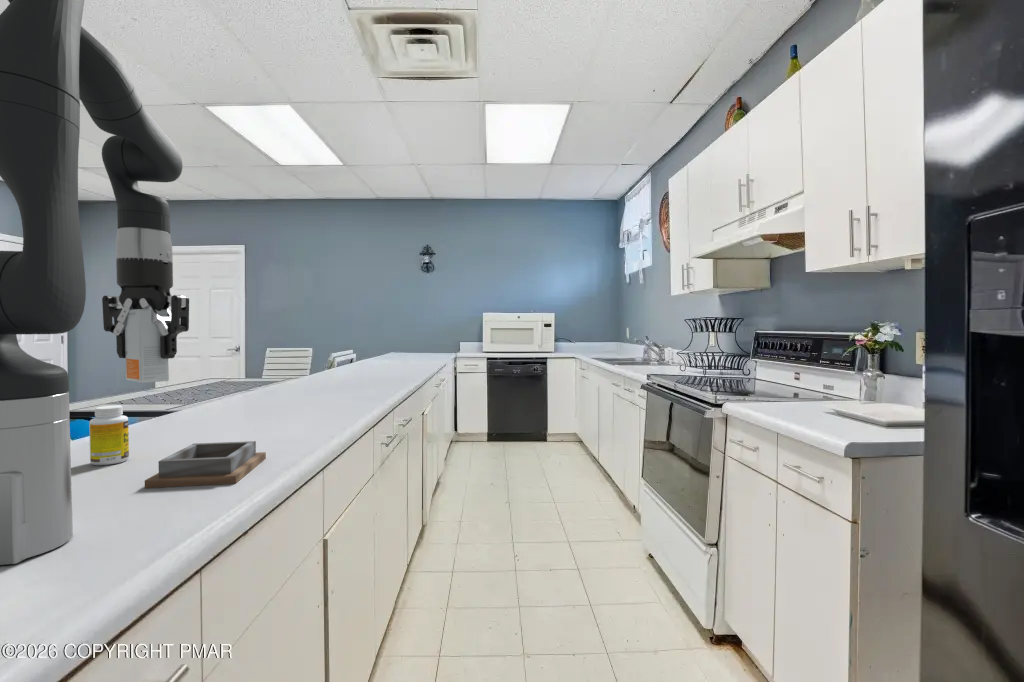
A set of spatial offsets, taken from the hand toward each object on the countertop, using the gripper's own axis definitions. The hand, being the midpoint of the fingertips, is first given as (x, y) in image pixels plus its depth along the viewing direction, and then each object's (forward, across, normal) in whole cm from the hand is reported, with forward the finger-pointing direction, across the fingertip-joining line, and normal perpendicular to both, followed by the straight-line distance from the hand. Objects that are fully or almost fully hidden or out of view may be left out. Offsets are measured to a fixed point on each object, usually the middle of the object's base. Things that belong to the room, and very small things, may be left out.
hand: (147, 358), depth 82 cm
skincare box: (+4, 0, 0) cm, 4 cm away
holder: (+20, +9, +3) cm, 22 cm away
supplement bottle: (+20, -14, +6) cm, 25 cm away
